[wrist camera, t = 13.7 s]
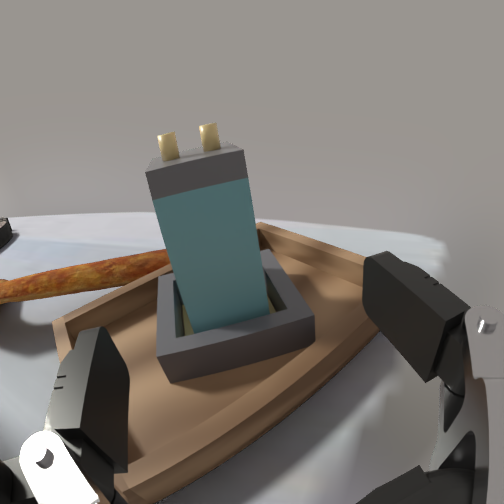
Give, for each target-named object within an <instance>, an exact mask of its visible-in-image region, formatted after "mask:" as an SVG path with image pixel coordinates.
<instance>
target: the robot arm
mask: <svg viewBox="0 0 504 504" xmlns="http://www.w3.org/2000/svg"><path fill="white" fill-rule="evenodd" d="M362 303H363V307H364V310H365V312H366V314H367V316H368V317H369V318H370V319H371V320H372V321H373V322H374V324H375V325H376V326H377V327H378V328H379V329H380V330H381V332H382V333H383V334H384V335H385V336H386V337H387V338H388V340H389V341H390V342H391V343H392V344H393V345H394V346H395V348H396V349H397V350H398V351H399V352H400V353H401V355H402V356H403V357H404V358H405V359H406V360H407V362H408V363H409V364H410V365H411V366H412V367H413V369H414V370H415V371H416V372H417V373H418V375H419V376H420V377H421V378H422V379H423V381H424V382H425V383H426V382H428V381H430V380H432V379H433V378H435V377H437V376H439V377H440V378H441V379H442V381H441V383H440V397H439V424H438V438H437V443H436V446H435V449H434V451H433V454H432V458H431V461H430V466H429V471H428V472H423V470H422V469H421V467H420V465H418V466H417V467H415V468H413V469H412V470H410V471H408V472H406V473H405V474H403V475H401V476H399V477H397V478H395V479H394V480H392V481H390V482H388V483H386V484H384V485H382V486H380V487H378V488H376V489H375V490H373V491H372V492H371V493H369V494H368V495H367V496H366V497H364V498H363V499H362V500H360V501H359V502H358V503H356V504H504V314H503V313H502V312H501V311H500V310H498V309H496V308H494V307H491V306H487V305H478V306H474V307H472V308H471V307H470V306H468V305H467V304H466V303H465V302H463V301H462V300H461V299H459V298H458V297H457V296H456V295H455V294H453V293H452V292H451V291H450V290H448V289H447V288H446V287H444V286H443V285H442V284H439V282H438V281H437V280H435V279H434V278H433V277H430V275H429V274H427V273H426V272H425V271H423V270H422V269H421V268H419V267H417V266H415V265H412V264H410V263H407V262H403V261H401V260H400V259H399V258H397V257H396V256H395V255H393V254H392V253H390V252H388V251H385V252H382V253H379V254H376V255H372V256H369V257H366V258H365V260H364V263H363V288H362ZM129 391H130V376H129V371H128V368H127V365H126V363H125V361H124V359H123V358H122V356H121V354H120V352H119V351H118V349H117V347H116V345H115V344H114V342H113V340H112V338H111V336H110V334H109V332H108V331H107V329H106V328H105V327H103V326H101V327H97V328H92V329H87V330H83V331H80V332H79V334H78V337H77V340H76V344H75V347H74V349H73V350H70V351H69V352H68V354H67V355H66V356H65V358H64V359H63V361H62V362H61V364H60V367H59V370H58V374H57V379H56V381H55V384H54V390H53V392H52V395H51V399H50V403H49V407H48V411H47V415H46V420H45V424H44V429H43V432H40V433H37V434H35V435H33V436H32V437H30V438H29V439H28V440H27V441H26V443H25V444H24V446H23V448H22V450H21V454H20V456H18V457H15V458H11V459H8V460H5V461H1V460H0V504H132V503H131V502H130V501H129V500H128V498H127V497H126V496H125V495H124V494H123V493H122V492H121V490H120V489H119V488H118V487H117V486H116V485H115V484H114V474H120V473H128V412H129Z"/></svg>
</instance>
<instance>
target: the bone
mask: <svg viewBox="0 0 504 504" xmlns="http://www.w3.org/2000/svg"><path fill="white" fill-rule="evenodd" d="M168 264H171V263H170V260H169V256H168V253H167V250H166V249H163V250H157V251H151V252H146V253H141V254H136V255H131V256H125V257H119V258H113V259H108V260H103V261H99V262H93V263H87V264H81V265H75V266H70V267H66V268H61V269H55V270H50V271H46V272H42V273H37V274H33V275H29V276H25V277H21V278H18V279H14V280H10V281H8V280H5V279H0V304H4V303H7V302H20V301H28V300H35V299H42V298H49V297H54V296H61V295H67V294H75V293H80V292H86V291H95V290H101V289H107V288H113V287H120V286H125V285H127V284H129V283H131V282H133V281H135V280H137V279H139V278H141V277H143V276H145V275H148V274H150V273H152V272H154V271H156V270H158V269H160V268H162V267H164V266H166V265H168Z"/></svg>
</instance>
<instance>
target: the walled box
mask: <svg viewBox="0 0 504 504" xmlns="http://www.w3.org/2000/svg"><path fill="white" fill-rule="evenodd" d="M256 230H257V236H258V242H259V248H260V251H262V250H266V249H270V251H271V252H272V254H273V255H274V256H275V258H276V259H277V261H278V262H279V264H280V265H281V267H282V268H283V269H284V271H285V272H286V274H287V275H288V277H289V278H290V280H291V281H292V283H293V284H294V285H295V287H296V288H297V290H298V291H299V293H300V294H301V296H302V297H303V299H304V300H305V301H306V303H307V304H308V306H309V307H310V309H311V310H312V312H313V313H314V315H315V340H316V341H315V342H314V343H313V344H312V345H310V346H309V347H306V348H303V349H300V350H297V351H294V352H291V353H287V354H284V355H281V356H278V357H274V358H271V359H267V360H264V361H261V362H257V363H253V364H250V365H246V366H242V367H239V368H235V369H231V370H227V371H223V372H219V373H215V374H211V375H207V376H203V377H198V378H194V379H189V380H185V381H180V382H175V383H171V384H170V382H169V380H168V379H167V377H166V375H165V373H164V371H163V369H162V367H161V365H160V363H159V361H158V359H157V357H156V331H157V297H158V276H162V275H166V274H170V273H174V272H173V269H172V266H171V264H168V265H166V266H164V267H162V268H160V269H158V270H156V271H154V272H152V273H150V274H148V275H145V276H143V277H141V278H139V279H137V280H135V281H133V282H131V283H129V284H127V285H125V286H123V287H121V288H119V289H117V290H115V291H113V292H110V293H108V294H106V295H104V296H102V297H100V298H98V299H96V300H94V301H92V302H90V303H88V304H86V305H84V306H82V307H80V308H78V309H76V310H74V311H72V312H70V313H68V314H66V315H64V316H62V317H60V318H58V319H56V320H54V321H53V322H52V325H53V331H54V337H55V342H56V347H57V352H58V356H59V361H60V364H61V362H62V361H63V359H64V358H65V356H66V355H67V354H68V352H69V351H70V350H73V349H74V347H75V344H76V340H77V337H78V334H79V332H80V331H83V330H87V329H92V328H97V327H101V326H103V327H105V328H106V329H107V331H108V332H109V334H110V336H111V338H112V340H113V342H114V344H115V345H116V347H117V349H118V351H119V352H120V354H121V356H122V358H123V359H124V361H125V363H126V365H127V368H128V371H129V376H130V391H129V412H128V473H120V474H114V484H115V485H116V486H117V487H118V488H119V489H120V490H121V492H122V493H123V494H124V495H125V496H126V497H127V498H128V500H129V501H130V502H131V503H132V504H154V503H156V502H158V501H160V500H161V499H163V498H165V497H167V496H169V495H171V494H173V493H174V492H176V491H178V490H180V489H182V488H183V487H185V486H187V485H189V484H190V483H192V482H194V481H195V480H197V479H199V478H200V477H202V476H204V475H205V474H207V473H208V472H210V471H212V470H213V469H215V468H216V467H218V466H219V465H221V464H222V463H224V462H225V461H227V460H228V459H230V458H231V457H233V456H234V455H236V454H237V453H239V452H240V451H242V450H243V449H245V448H246V447H247V446H249V445H250V444H252V443H253V442H254V441H256V440H257V439H258V438H260V437H261V436H262V435H264V434H265V433H266V432H268V431H269V430H270V429H272V428H273V427H274V426H276V425H277V424H278V423H280V422H281V421H282V420H283V419H285V418H286V417H287V416H288V415H290V414H291V413H292V412H293V411H294V410H296V409H297V408H298V407H299V406H301V405H302V404H303V403H304V402H305V401H306V400H308V399H309V398H310V397H311V396H312V395H313V394H315V393H316V392H317V391H318V390H319V389H320V388H321V387H323V386H324V385H325V384H326V383H327V382H328V381H329V380H330V379H331V378H333V377H334V376H335V375H336V374H337V373H338V372H339V371H340V370H341V369H342V368H343V367H344V366H345V365H346V364H347V363H349V362H350V361H351V360H352V359H353V358H354V357H355V356H356V355H357V354H358V353H359V352H360V351H361V350H362V349H363V348H364V347H365V346H366V345H367V344H368V343H369V342H370V341H371V340H372V339H373V338H374V336H375V335H376V334H377V333H378V332H379V331H380V329H379V328H378V327H377V326H376V325H375V324H374V322H373V321H372V320H371V319H370V318H369V317H368V316H367V314H366V312H365V310H364V307H363V303H362V288H363V263H364V260H365V258H366V257H364V256H361V255H358V254H355V253H353V252H350V251H347V250H344V249H341V248H338V247H335V246H332V245H329V244H326V243H323V242H320V241H317V240H314V239H311V238H308V237H305V236H302V235H299V234H296V233H293V232H290V231H287V230H284V229H281V228H278V227H275V226H272V225H269V224H265V223H262V222H259V223H257V224H256ZM267 296H268V294H267ZM268 298H269V299H270V297H269V296H268ZM270 301H271V299H270ZM271 303H272V301H271ZM272 305H273V303H272ZM273 307H274V305H273ZM274 309H275V307H274ZM275 311H276V309H275ZM276 312H277V311H276ZM182 318H183V307H182ZM183 328H184V318H183ZM184 336H185V328H184Z"/></svg>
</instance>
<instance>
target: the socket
mask: <svg viewBox="0 0 504 504" xmlns="http://www.w3.org/2000/svg"><path fill="white" fill-rule="evenodd" d="M260 255H261V261H262V267H263V273H264V280H265V286H266V292H267V294H268V296H269V297H270V299H271V301H272V303H273V305H274V307H275V309H276V311H277V312H276V311H275V309H274V307H273V305H272V303H271V301H270V299H269V298H268V296H267V299H268V305H269V312H270V314H268V315H265V316H261V317H258V318H254V319H250V320H247V321H243V322H239V323H235V324H232V325H228V326H224V327H220V328H216V329H212V330H208V331H204V332H200V333H196V334H194V332H193V329H192V326H191V323H190V320H189V318H188V315H187V312H186V309H185V306H184V303H183V300H182V297H181V294H180V291H179V288H178V285H177V282H176V279H175V276H174V273H170V274H166V275H162V276H158V297H157V331H156V357H157V359H158V361H159V363H160V365H161V367H162V369H163V371H164V373H165V375H166V377H167V379H168V380H169V382H170V384H171V383H175V382H180V381H185V380H189V379H194V378H198V377H203V376H207V375H211V374H215V373H219V372H223V371H227V370H231V369H235V368H239V367H242V366H246V365H250V364H253V363H257V362H261V361H264V360H267V359H271V358H274V357H278V356H281V355H284V354H287V353H291V352H294V351H297V350H300V349H303V348H306V347H309V346H310V345H312V344H313V343H314V342H315V341H316V340H315V315H314V313H313V312H312V310H311V309H310V307H309V306H308V304H307V303H306V301H305V300H304V299H303V297H302V296H301V294H300V293H299V291H298V290H297V288H296V287H295V285H294V284H293V283H292V281H291V280H290V278H289V277H288V275H287V274H286V272H285V271H284V269H283V268H282V267H281V265H280V264H279V262H278V261H277V259H276V258H275V256H274V255H273V254H272V252H271V251H270V249H266V250H262V251H260ZM182 307H183V318H184V328H185V336H184V328H183V318H182Z"/></svg>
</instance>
